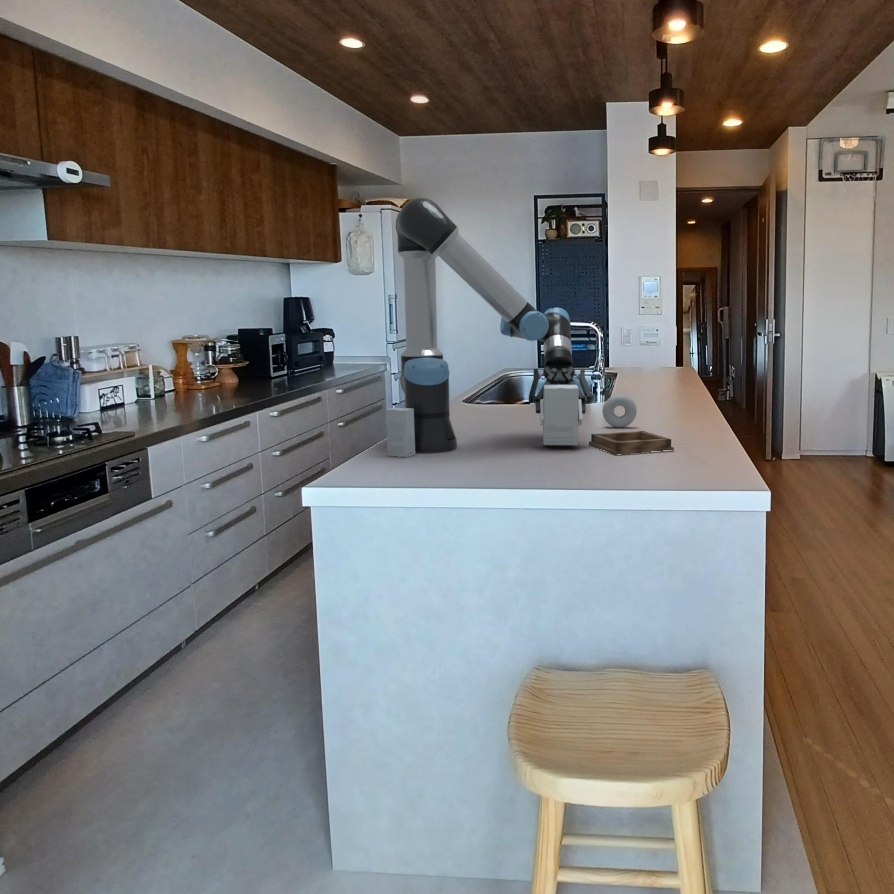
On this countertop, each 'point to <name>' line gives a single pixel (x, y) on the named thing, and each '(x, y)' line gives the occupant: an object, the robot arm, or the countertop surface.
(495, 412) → the countertop surface
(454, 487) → the countertop surface
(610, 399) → the donut
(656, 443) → the holder
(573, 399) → the supplement box
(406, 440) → the skincare box
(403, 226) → the robot arm
